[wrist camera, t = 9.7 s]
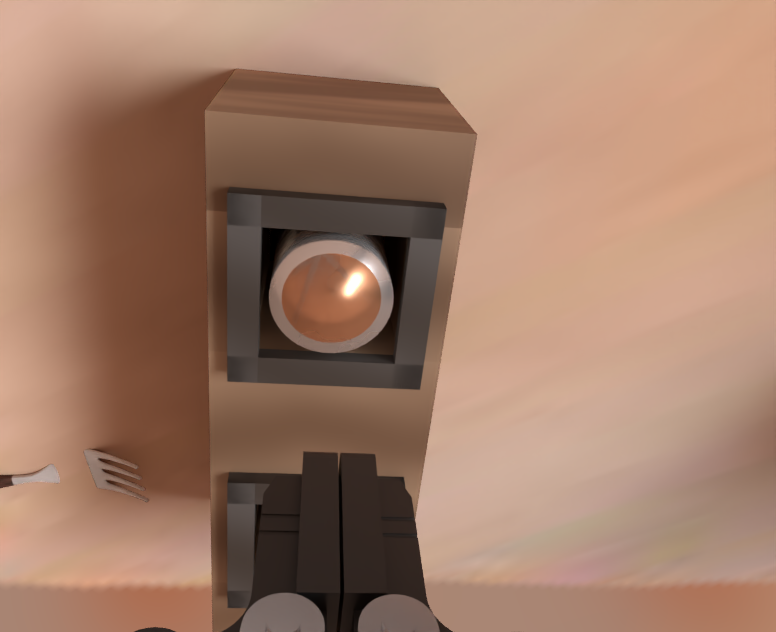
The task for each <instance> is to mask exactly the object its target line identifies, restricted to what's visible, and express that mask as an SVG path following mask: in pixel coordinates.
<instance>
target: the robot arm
mask: <svg viewBox="0 0 776 632" xmlns="http://www.w3.org/2000/svg"><path fill="white" fill-rule="evenodd" d="M135 632H175V631H172V630H170V629H166V628H158V627H153V628H145V629H141V630H138V631H135ZM221 632H452V631H451V630H449V629H448V628H447V627H445V626H444V625H443V624H442V623H440V622H439V620H438V619H437V618H436V617H435V616H434V614H433V613H432V611H431V609H430V607H429V605H428V602H427V597H426V591H425V584H424V577H423V570H422V564H421V557H420V550H419V543H418V538H417V530H416V523H415V516H414V509H413V503H412V497H411V496H410V494H409V493H408V491H407V490H406V489H405V487H404V486H403V484H402V483H401V481H400V480H395V479H378V477H377V466H376V456H375V454H367V453H340V459H339V469H338V453H335V452H309V451H303V464H302V477H300V476H276V477H275V478H274V479H273V481H272V482H271V484H270V485H269V486H268V488H267V489H266V491H265V492H264V494H263V502H262V510H261V519H260V527H259V535H258V544H257V552H256V560H255V568H254V577H253V585H252V593H251V599H250V602H249V605H248V607H247V609H246V610H245V612H244V614H243V615H242V616H241V617H240V618H239V620H237V621H236V622H235V623H234V624H233V625H231V626H230V627H229V628H227V629H225V630H223V631H221Z"/></svg>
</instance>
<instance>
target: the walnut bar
mask: <svg viewBox="0 0 776 632" xmlns="http://www.w3.org/2000/svg"><path fill="white" fill-rule="evenodd" d="M476 139H477V134H476V132H475V131H474V130H473V129H472V128H471V126H470V125H469V124H468V123H467V122H466V120H465V119H464V118H463V117H462V116H461V114H460V113H459V112H458V111H457V110H456V108H455V107H454V106H453V105H452V104H451V103H450V101H449V100H448V99H447V98H446V97H445V95H444V94H443V93H442V92H441V91H440V89H439V88H432V87H421V86H411V85H400V84H390V83H380V82H369V81H359V80H348V79H338V78H327V77H317V76H306V75H296V74H285V73H275V72H265V71H254V70H244V69H235V70H234V72H233V73H232V74H231V76H230V77H229V78H228V80H227V81H226V83H225V84H224V85H223V87H222V88H221V89H220V91H219V92H218V93H217V95H216V96H215V97H214V99H213V100H212V101H211V103H210V104H209V105H208V107H207V108H206V109H205V163H206V229H207V295H208V361H209V427H210V493H211V560H212V619H213V620H212V622H213V623H212V624H213V632H221V631H223V630H225V629H227V628H229V627H230V626H231V625H233V624H234V623H235V622H236V621H237V620H239V618H240V617H241V616H242V615H243V614H244V612H245V610H246V609H247V607H248V605H249V602H250V599H251V593H252V585H253V577H254V568H255V560H256V552H257V544H258V535H259V527H260V519H261V510H262V502H263V494H264V492H265V491H266V489H267V488H268V486H269V485H270V484H271V482H272V481H273V479H274V478H275V477H276V476H300V477H302V464H303V451H309V452H335V453H338V469H339V459H340V453H367V454H375V456H376V466H377V477H378V479H395V480H400V481H401V483H402V484H403V486H404V487H405V489H406V490H407V491H408V493H409V494H410V496H411V497H412V503H413V509H414V516H415V517H416V511H417V504H418V498H419V492H420V486H421V480H422V473H423V467H424V461H425V455H426V449H427V442H428V436H429V430H430V424H431V418H432V411H433V405H434V399H435V393H436V387H437V380H438V374H439V368H440V362H441V356H442V349H443V343H444V337H445V331H446V325H447V318H448V312H449V306H450V300H451V294H452V287H453V281H454V275H455V269H456V263H457V256H458V250H459V244H460V238H461V232H462V226H463V219H464V213H465V207H466V201H467V195H468V188H469V182H470V176H471V170H472V164H473V157H474V151H475V145H476ZM270 228H280V229H294V230H309V231H323V232H338V233H352V234H366V235H381V236H385V241H384V247H385V252H386V257H387V262H388V267H389V272H390V277H391V281H392V286H393V294H394V299H393V307H392V312H391V314H390V317H389V319H388V321H387V323H386V325H385V326H384V328H383V329H382V330H381V331H380V332H379V334H378V335H377V336H375V337H374V338H373V339H372V340H371V341H369V342H368V343H366V344H364V345H362V346H360V347H358V348H356V349H353V350H350V351H346V352H340V353H322V352H316V351H312V350H309V349H306V348H304V347H302V346H300V345H298V344H296V343H295V342H293V341H292V340H290V339H289V338H288V337H287V336H286V335H285V334H284V333H283V332H282V331H281V330H280V328H279V327H278V326H277V324H276V322H275V320H274V318H273V316H272V313H271V310H270V305H269V290H270V283H271V277H272V270H273V264H274V261H269V257H270Z"/></svg>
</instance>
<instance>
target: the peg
mask: <svg viewBox="0 0 776 632" xmlns="http://www.w3.org/2000/svg"><path fill="white" fill-rule="evenodd" d="M393 299H394V294H393V286H392V281H391V277H390V272H389V267H388V262H387V257H386V252H385V247H384V243H383V238H382V236H381V235H366V234H352V233H338V232H323V231H309V230H294V229H280V228H279V233H278V239H277V245H276V252H275V258H274V264H273V270H272V277H271V283H270V290H269V305H270V310H271V313H272V316H273V318H274V320H275V322H276V324H277V326H278V327H279V328H280V330H281V331H282V332H283V333H284V334H285V335H286V336H287V337H288V338H289V339H290V340H292V341H293V342H295V343H296V344H298V345H300V346H302V347H304V348H306V349H309V350H312V351H316V352H322V353H340V352H346V351H350V350H353V349H356V348H358V347H360V346H362V345H364V344H366V343H368V342H369V341H371V340H372V339H373V338H374V337H375V336H377V335H378V334H379V332H380V331H381V330H382V329H383V328H384V326H385V325H386V323H387V321H388V319H389V317H390V314H391V312H392V307H393Z"/></svg>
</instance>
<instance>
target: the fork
mask: <svg viewBox="0 0 776 632" xmlns="http://www.w3.org/2000/svg"><path fill="white" fill-rule="evenodd" d="M84 455H85V458H86V460H87V463H88V466H89V468H90V471H91V474H92V476H93V479H94V481H95V484H96V486H97V488H99V489H108V490H113V491H117V492H120V493H124V494H127V495H130V496H133V497H136V498H138V499H141V500H143V501H145V502H148V501H149V499H148V498H146V497H144V496H141V495H139V494H137V493H134V492H132V491H129V490H127V489H124V488H122V487H119V486H116V485H113V484H110V483H108V482H107V481H106V480H111V481H115V482H119V483H122V484H125V485H128V486H131V487H134V488H137V489H139V490H142V491H144V490H145V488H144V487H142V486H140V485H137V484H135V483H133V482H130V481H128V480H125V479H123V478H120V477H117V476H114V475H111V474H108V473H106V472H104V471H103V470H102V469H107V470H111V471H115V472H118V473H121V474H124V475H128V476H130V477H133V478H136V479H138V480H141V479H142V477H140V476H138V475H136V474H134V473H131V472H129V471H126V470H124V469H121V468H119V467H116V466H113V465H110V464H107V463H104V462H102V461H100V460H99V459H98V458H103V459H107V460H111V461H115V462H118V463H121V464H124V465H127V466H130V467H133V468H135V469H137V468H138V466H137V465H135V464H133V463H131V462H128V461H126V460H123V459H121V458H118V457H115V456H112V455H110V454H107V453H103V452H100V451H96V450H92V449H86V450H84ZM28 482H50V483H60V478H59V474H58V472H57V469H56V468H55V466H54V465H53V464H50V465H48V466H46V467H44V468H43V469H41V470H40V471H38V472H36V473H33V474H27V475H0V488H3V487H8V486H12V485H17V484H22V483H28Z"/></svg>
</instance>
